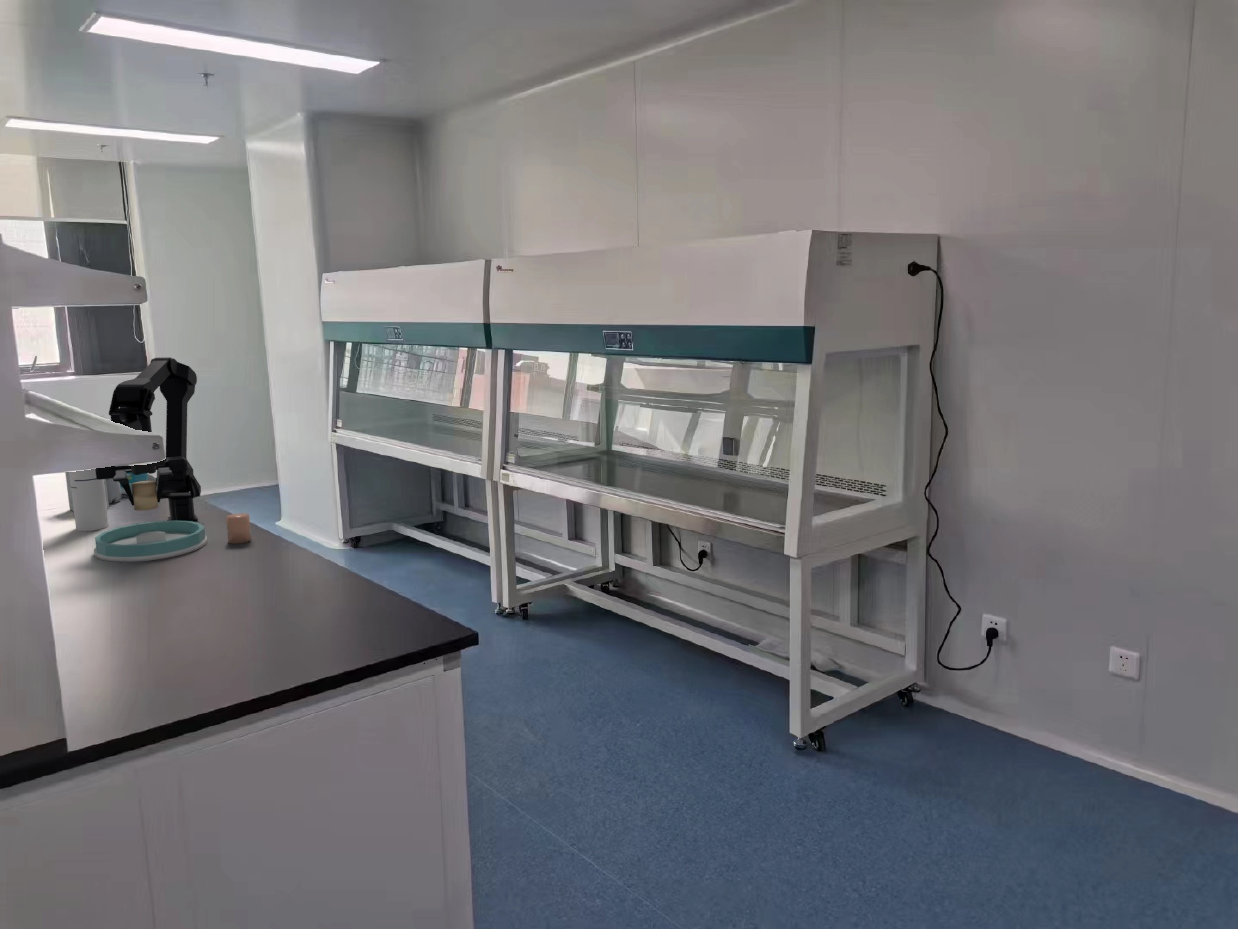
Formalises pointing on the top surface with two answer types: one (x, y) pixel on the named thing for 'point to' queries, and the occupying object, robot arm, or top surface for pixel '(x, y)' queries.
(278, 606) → the top surface
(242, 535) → the pinkish brown short cylinder
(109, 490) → the bottle
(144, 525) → the groove tray
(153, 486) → the wood cylinder
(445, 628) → the top surface
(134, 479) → the pill bottle
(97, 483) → the cylindrical container
